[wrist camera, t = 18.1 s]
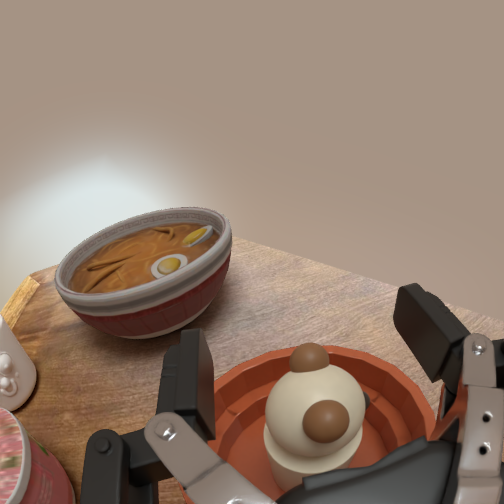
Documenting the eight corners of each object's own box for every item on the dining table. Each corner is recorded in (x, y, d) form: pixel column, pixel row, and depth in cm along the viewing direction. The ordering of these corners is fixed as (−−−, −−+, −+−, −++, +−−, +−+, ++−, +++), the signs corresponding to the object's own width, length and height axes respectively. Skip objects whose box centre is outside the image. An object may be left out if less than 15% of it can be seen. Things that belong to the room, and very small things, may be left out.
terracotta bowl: (369, 370, 23) (379, 324, 20) (434, 512, 9) (474, 492, 6) (201, 405, 23) (181, 364, 20) (209, 568, 9) (177, 571, 6)
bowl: (280, 290, 37) (272, 218, 32) (133, 407, 22) (82, 333, 18) (177, 252, 51) (164, 200, 46) (69, 315, 37) (42, 259, 32)
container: (103, 540, 9) (31, 514, 6) (19, 542, 5) (-49, 508, 2) (76, 444, 18) (24, 394, 14) (7, 459, 14) (-44, 414, 10)
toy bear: (337, 431, 18) (360, 322, 12) (353, 487, 13) (405, 411, 8) (269, 444, 18) (247, 342, 12) (276, 503, 13) (256, 447, 8)
